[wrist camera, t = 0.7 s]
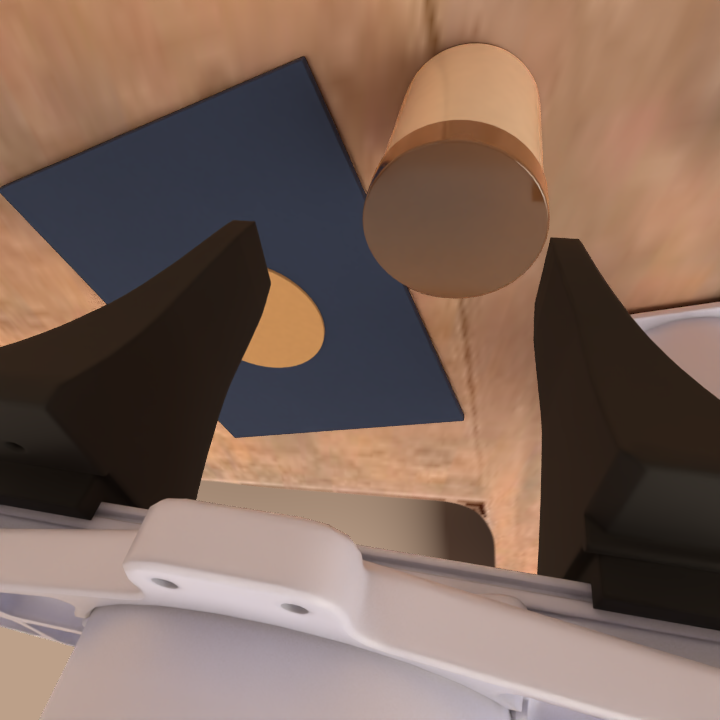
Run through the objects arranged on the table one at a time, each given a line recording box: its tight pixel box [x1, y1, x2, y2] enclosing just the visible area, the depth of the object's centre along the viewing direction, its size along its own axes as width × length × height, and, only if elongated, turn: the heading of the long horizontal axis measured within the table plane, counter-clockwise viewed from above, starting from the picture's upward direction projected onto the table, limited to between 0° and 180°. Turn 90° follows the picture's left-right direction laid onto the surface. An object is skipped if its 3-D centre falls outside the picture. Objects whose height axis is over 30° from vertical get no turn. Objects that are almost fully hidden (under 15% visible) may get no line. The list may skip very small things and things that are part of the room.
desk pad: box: [0, 57, 464, 438], centre depth 30 cm, size 22×18×1 cm
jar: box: [362, 43, 550, 299], centre depth 17 cm, size 5×5×7 cm
